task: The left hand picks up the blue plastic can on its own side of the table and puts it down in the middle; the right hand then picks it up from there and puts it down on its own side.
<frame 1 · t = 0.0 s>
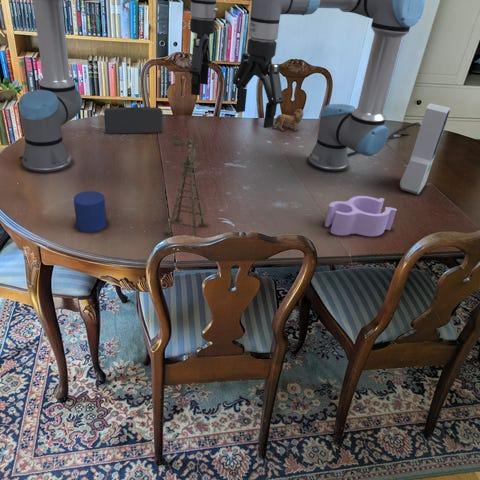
left hand: (199, 89, 153), 28 cm above the table, tool pointing down, fingers open, 13 cm apart
right hand: (253, 119, 133), 28 cm above the table, tool pointing down, fingers open, 13 cm apart
electronic device: (411, 187, 171), on the table
can: (91, 224, 130), on the table
lion figurine: (286, 129, 212), on the table
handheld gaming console: (134, 132, 192), on the table
miniature windmill: (186, 229, 132), on the table
sword: (389, 139, 213), on the table
clip: (356, 226, 143), on the table
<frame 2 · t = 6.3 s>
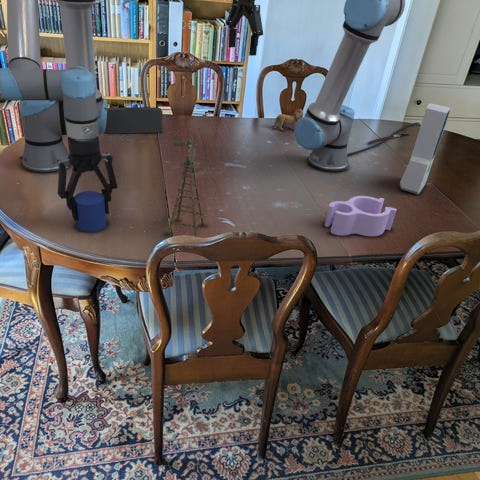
left hand: (90, 215, 128), 3 cm above the table, tool pointing down, fingers closed on can, 8 cm apart
right hand: (241, 51, 173), 36 cm above the table, tool pointing down, fingers open, 13 cm apart
can: (91, 224, 130), on the table, touching left hand
everything else where it was.
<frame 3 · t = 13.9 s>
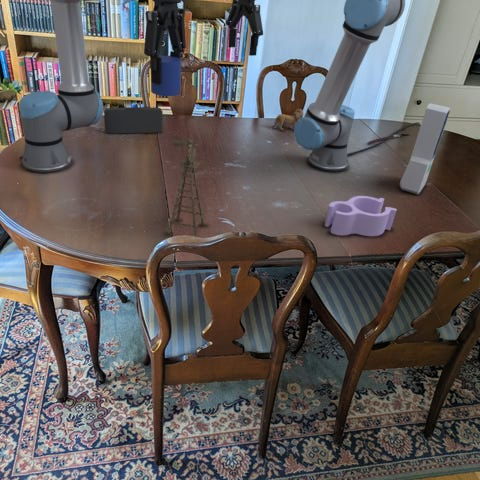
left hand: (165, 80, 124), 37 cm above the table, tool pointing down, fingers closed on can, 8 cm apart
right hand: (241, 51, 173), 36 cm above the table, tool pointing down, fingers open, 13 cm apart
can: (165, 91, 126), point 34 cm above the table, touching left hand
everything else where it was.
when the left hand's fingers open (5 cm above the table, at t = 21.3 s): can drops 1 cm, on the table.
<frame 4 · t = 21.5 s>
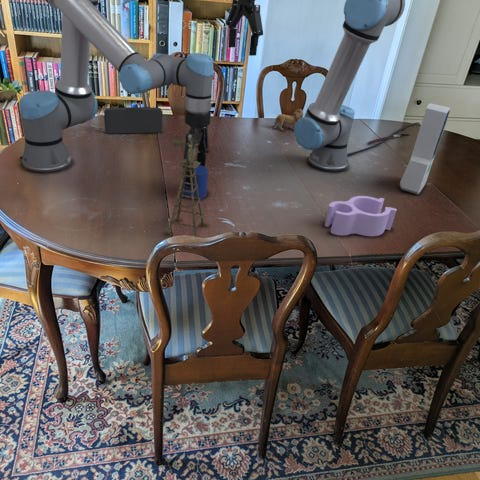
left hand: (195, 178, 149), 5 cm above the table, tool pointing down, fingers open, 10 cm apart
right hand: (241, 51, 173), 36 cm above the table, tool pointing down, fingers open, 13 cm apart
can: (194, 193, 151), on the table
everything else where it was.
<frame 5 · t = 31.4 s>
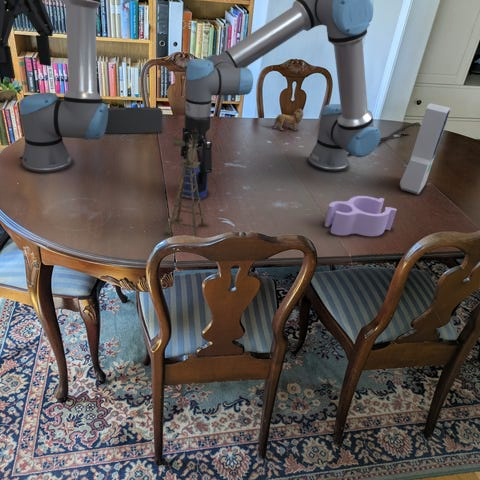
left hand: (28, 71, 107), 41 cm above the table, tool pointing down, fingers open, 13 cm apart
right hand: (194, 184, 150), 3 cm above the table, tool pointing down, fingers closed on can, 8 cm apart
can: (194, 193, 151), on the table, touching right hand
everything else where it was.
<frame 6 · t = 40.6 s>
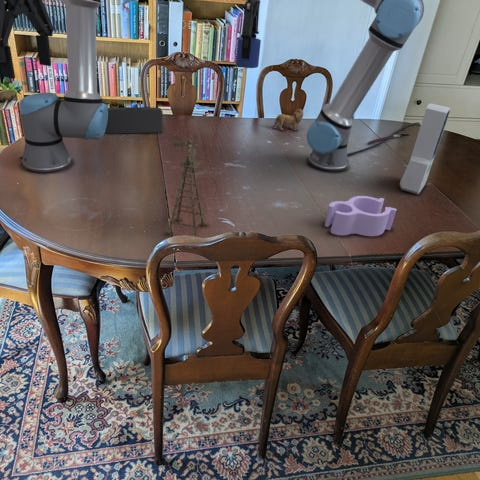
left hand: (28, 71, 107), 41 cm above the table, tool pointing down, fingers open, 13 cm apart
right hand: (247, 56, 161), 37 cm above the table, tool pointing down, fingers closed on can, 8 cm apart
can: (247, 65, 163), point 34 cm above the table, touching right hand
everything else where it was.
when the right hand's fingers open (5 cm above the table, at t = 49.5 s): can drops 1 cm, on the table.
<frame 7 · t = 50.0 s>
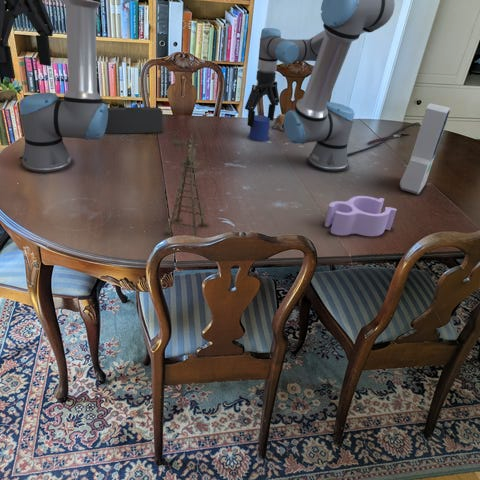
left hand: (28, 71, 107), 41 cm above the table, tool pointing down, fingers open, 13 cm apart
right hand: (260, 123, 196), 7 cm above the table, tool pointing down, fingers open, 13 cm apart
can: (258, 137, 200), on the table
everything else where it was.
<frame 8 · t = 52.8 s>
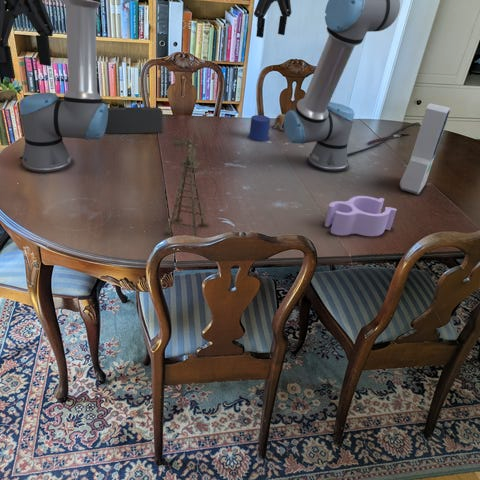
left hand: (28, 71, 107), 41 cm above the table, tool pointing down, fingers open, 13 cm apart
right hand: (270, 35, 178), 41 cm above the table, tool pointing down, fingers open, 13 cm apart
nothing on the table moved.
at the end: can inside the target area (0.0 cm from its centre), on the table; can tilted 0°; the two hands never held the can at the same time; the left hand is holding nothing; the right hand is holding nothing; can at rest at the end (0.0 cm/s) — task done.
